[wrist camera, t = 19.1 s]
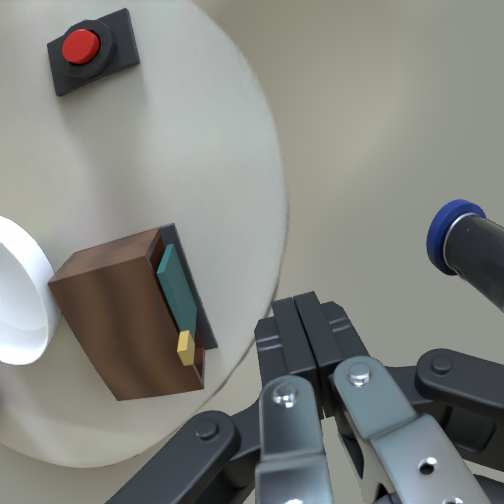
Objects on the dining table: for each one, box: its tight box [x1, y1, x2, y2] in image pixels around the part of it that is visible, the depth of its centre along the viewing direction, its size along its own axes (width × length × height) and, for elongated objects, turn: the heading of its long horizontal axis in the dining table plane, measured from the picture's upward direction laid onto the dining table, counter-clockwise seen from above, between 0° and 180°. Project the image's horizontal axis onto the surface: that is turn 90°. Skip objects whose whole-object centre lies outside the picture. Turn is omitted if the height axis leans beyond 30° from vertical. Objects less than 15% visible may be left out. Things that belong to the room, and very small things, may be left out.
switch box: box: [47, 8, 140, 96], centre depth 26 cm, size 10×7×3 cm
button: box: [62, 30, 99, 64], centre depth 24 cm, size 4×4×2 cm
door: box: [157, 244, 197, 366], centre depth 33 cm, size 1×9×10 cm, turn 13°
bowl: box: [0, 216, 61, 365], centre depth 32 cm, size 20×20×8 cm
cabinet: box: [47, 223, 218, 401], centre depth 36 cm, size 14×18×8 cm
